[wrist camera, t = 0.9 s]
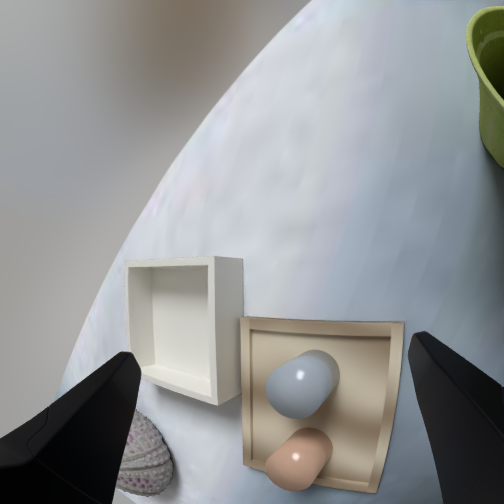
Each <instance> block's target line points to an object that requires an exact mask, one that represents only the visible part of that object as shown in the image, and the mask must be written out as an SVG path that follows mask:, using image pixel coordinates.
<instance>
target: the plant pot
mask: <svg viewBox="0 0 504 504" xmlns="http://www.w3.org/2000/svg"><path fill="white" fill-rule="evenodd" d="M466 43H467V49H468V53H469V57H470V60H471V62H472V65H473V67H474V69H475V71H476V73H477V75H478V78H479V89H480V112H479V129H480V134H481V138H482V141H483V143H484V145H485V147H486V148H487V150H488V151H489V152H490V153H491V155H492V156H493V157H494V159H495V160H496V162H497V163H498V164H499V165H500V166H501V167H502V168H504V6H493V7H487V8H484V9H482V10H480V11H478V12H477V13H475V15H473V17H472V18H471V19H470V21H469V23H468V25H467V29H466Z"/></svg>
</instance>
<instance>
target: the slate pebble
mask: <svg viewBox="0 0 504 504" xmlns="http://www.w3.org/2000/svg"><path fill="white" fill-rule="evenodd" d="M339 379H340V370H339V366H338V364H337V362H336V360H335V359H334V358H333V357H332V356H331V355H330V354H328V353H326V352H324V351H321V350H308V351H305V352H303V353H302V354H300V355H298V356H297V357H295V358H293V359H292V360H290V361H289V362H287V363H285V364H284V365H282V366H280V367H278V368H277V369H275V370H274V371H273V372H272V373H271V374H270V375H269V377H268V379H267V382H266V395H267V398H268V401H269V403H270V404H271V406H272V407H273V408H274V409H275V410H276V411H277V412H278V413H279V414H281V415H283V416H285V417H287V418H291V419H303V418H306V417H309V416H310V415H312V414H313V413H314V412H315V411H316V410H317V409H318V408H319V407H320V406H321V404H322V403H323V402H324V401H325V400H326V399H327V397H328V396H329V395H330V394H331V393H332V391H333V390H334V389H335V388H336V386H337V385H338V382H339Z"/></svg>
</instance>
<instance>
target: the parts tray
mask: <svg viewBox="0 0 504 504" xmlns="http://www.w3.org/2000/svg"><path fill="white" fill-rule="evenodd" d="M240 329H241V392H242V437H243V465H245V466H248V467H251V468H254V469H257V470H261V471H264V472H266V471H265V463H266V461H267V459H268V458H269V457H270V456H271V455H272V454H273V453H274V452H275V451H276V450H277V449H278V448H279V447H280V446H281V445H282V444H283V443H284V442H285V441H286V440H287V439H288V438H289V437H290V436H291V435H292V434H293V433H294V432H295V431H297V430H299V429H301V428H315V429H318V430H320V431H322V432H324V433H325V434H326V435H327V436H328V437H329V438H330V440H331V442H332V445H333V451H332V454H331V456H330V457H329V459H328V461H327V462H326V464H325V465H324V467H323V468H322V470H321V471H320V473H319V474H318V476H317V477H316V478H315V480H314V481H313V483H312V484H316V485H321V486H327V487H332V488H338V489H345V490H352V491H360V492H369V493H376V492H377V489H378V486H379V483H380V479H381V476H382V472H383V468H384V464H385V460H386V456H387V451H388V447H389V442H390V437H391V432H392V427H393V422H394V416H395V410H396V404H397V397H398V390H399V382H400V373H401V363H402V352H403V338H404V321H324V320H299V319H280V318H264V317H249V316H247V317H242V318H240ZM308 350H321V351H324V352H326V353H328V354H330V355H331V356H332V357H333V358H334V359H335V360H336V362H337V364H338V366H339V370H340V379H339V382H338V385H337V386H336V388H335V389H334V390H333V391H332V393H331V394H330V395H329V396H328V397H327V399H326V400H325V401H324V402H323V403H322V404H321V406H320V407H319V408H318V409H317V410H316V411H315V412H314V413H313V414H312V415H310V416H309V417H306V418H303V419H291V418H287V417H285V416H283V415H281V414H279V413H278V412H277V411H276V410H275V409H274V408H273V407H272V406H271V404H270V403H269V401H268V398H267V395H266V382H267V379H268V377H269V375H270V374H271V373H272V372H273V371H274V370H275V369H277V368H278V367H280V366H282V365H284V364H285V363H287V362H289V361H290V360H292V359H293V358H295V357H297V356H298V355H300V354H302V353H303V352H305V351H308Z"/></svg>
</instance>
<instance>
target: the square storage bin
mask: <svg viewBox="0 0 504 504" xmlns="http://www.w3.org/2000/svg"><path fill="white" fill-rule="evenodd" d="M125 311H126V333H127V348H128V352H131V353H133V355H134V356H135V358H136V360H137V362H138V364H139V366H140V368H141V372H142V374H141V379H144V380H146V381H149V382H151V383H154V384H156V385H159V386H161V387H164V388H167V389H169V390H172V391H175V392H177V393H180V394H183V395H186V396H189V397H192V398H195V399H198V400H201V401H204V402H207V403H210V404H213V405H217V406H219V405H220V404H222V403H224V402H226V401H228V400H230V399H232V398H234V397H235V396H237V395H239V394H241V393H242V392H241V329H240V318H242V317H243V259H241V258H230V257H219V256H207V257H189V258H171V259H152V260H134V261H125Z"/></svg>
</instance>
